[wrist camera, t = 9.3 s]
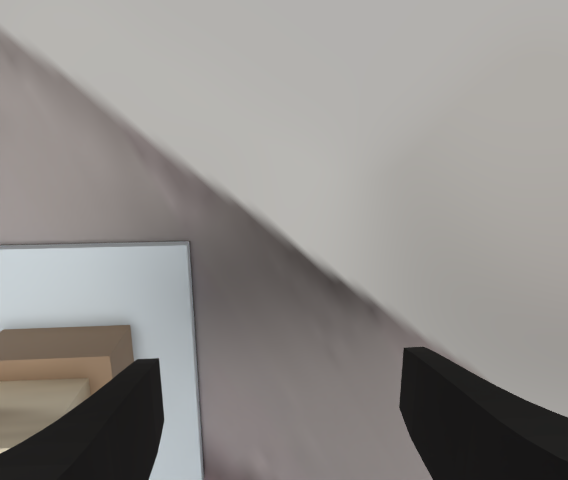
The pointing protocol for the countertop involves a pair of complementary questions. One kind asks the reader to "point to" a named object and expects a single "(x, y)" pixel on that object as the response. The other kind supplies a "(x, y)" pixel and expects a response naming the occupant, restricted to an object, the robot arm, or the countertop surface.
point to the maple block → (36, 406)
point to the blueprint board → (107, 327)
